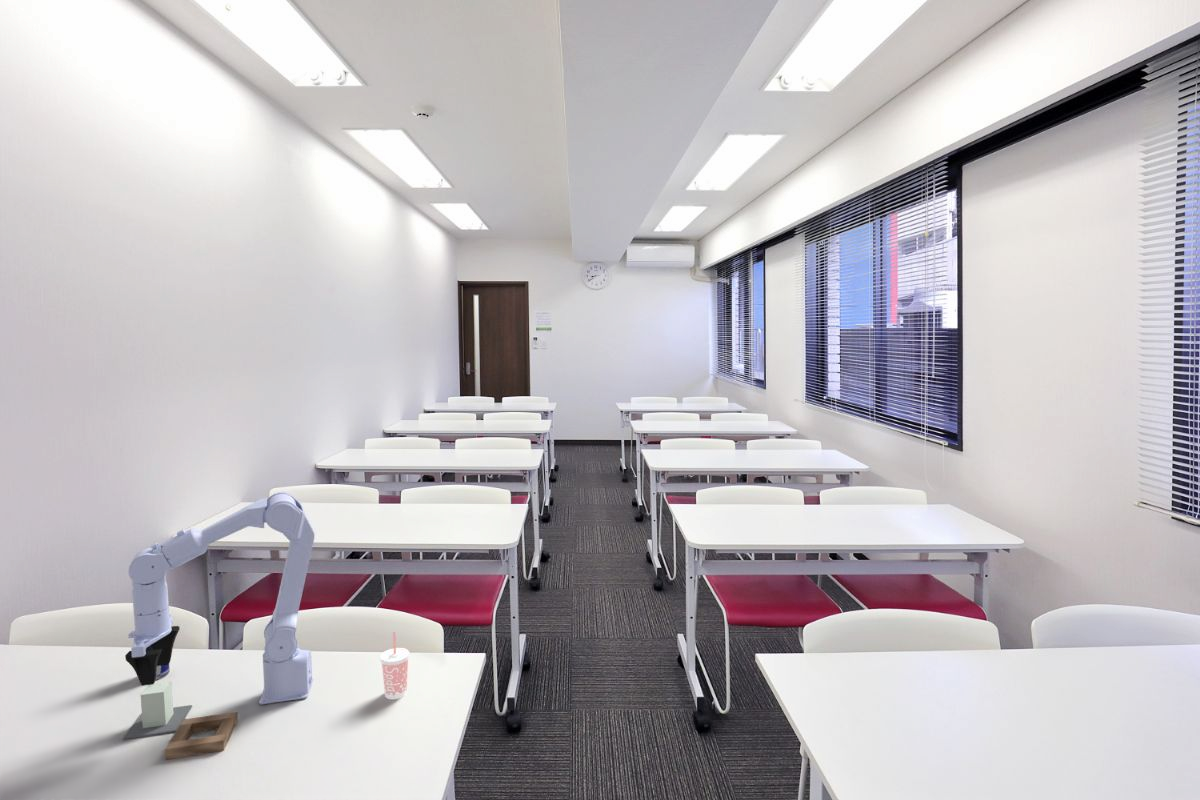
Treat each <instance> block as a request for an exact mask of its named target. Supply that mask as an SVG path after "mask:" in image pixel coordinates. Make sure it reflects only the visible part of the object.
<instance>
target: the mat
mask: <svg viewBox="0 0 1200 800" xmlns="http://www.w3.org/2000/svg"><path fill="white" fill-rule="evenodd" d="M192 708H193V704H189V705H188V704H187V705H182V706H175V707H174V706H173V713H174V714H173V715H172V717H171V718H170V720H169V721H168V723H167V724H166V725H162V726H155V727H148V728H143V723H142V712H141V713H140V715H139V716H138V717H137V719H136V720H135V721H134V722H133V724H132V726H130V728H129V729H128V731H127V732H126V733H125V735H123V737H122V740H123V741H125V740H132V739H138V738H144V737H145V738H146V737H147V738H148V737H152V736H159V735H167V734H173V733H174V734H175V733H176V731H177V729H178V728H179V726H180V725H181V723H182V721H183V720H184V719H186V717H187V716H188V714H189V712H190V711H191V709H192Z"/></svg>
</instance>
